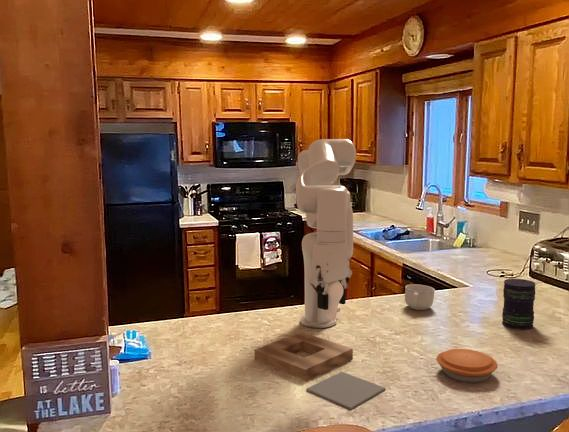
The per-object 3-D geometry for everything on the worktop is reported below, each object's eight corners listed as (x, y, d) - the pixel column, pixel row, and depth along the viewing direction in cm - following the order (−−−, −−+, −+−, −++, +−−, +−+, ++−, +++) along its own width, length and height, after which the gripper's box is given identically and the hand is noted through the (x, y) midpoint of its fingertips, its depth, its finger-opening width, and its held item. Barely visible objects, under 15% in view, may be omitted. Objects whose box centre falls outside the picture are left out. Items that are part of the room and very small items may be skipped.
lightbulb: (330, 315, 140) (330, 275, 138) (348, 320, 135) (348, 278, 134) (314, 320, 135) (314, 278, 134) (332, 326, 131) (332, 283, 130)
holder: (301, 341, 165) (301, 331, 165) (352, 358, 151) (352, 348, 151) (254, 359, 151) (254, 349, 151) (305, 380, 137) (305, 369, 137)
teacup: (411, 302, 205) (411, 282, 204) (438, 306, 199) (439, 286, 198) (396, 311, 194) (396, 290, 193) (424, 316, 188) (425, 294, 187)
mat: (341, 373, 141) (341, 371, 141) (385, 389, 131) (385, 387, 131) (306, 390, 131) (306, 388, 131) (350, 409, 122) (351, 407, 122)
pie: (429, 362, 148) (430, 345, 148) (485, 362, 148) (485, 345, 147) (444, 386, 133) (445, 367, 132) (506, 387, 133) (507, 368, 132)
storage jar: (525, 332, 171) (527, 287, 169) (496, 325, 178) (498, 282, 176) (538, 325, 177) (541, 282, 175) (510, 318, 185) (512, 277, 183)
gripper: (341, 231, 141) (341, 296, 143) (297, 239, 129) (297, 310, 131) (364, 234, 136) (363, 302, 138) (319, 242, 124) (320, 316, 126)
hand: (331, 305), depth 135 cm, fingers closed on lightbulb, 6 cm apart
